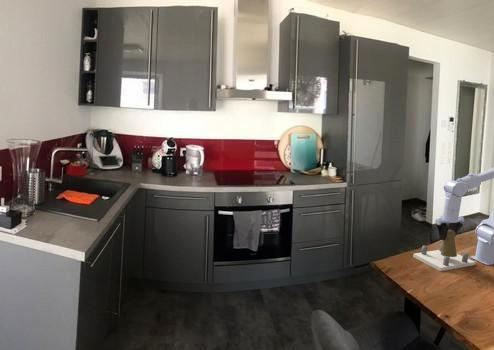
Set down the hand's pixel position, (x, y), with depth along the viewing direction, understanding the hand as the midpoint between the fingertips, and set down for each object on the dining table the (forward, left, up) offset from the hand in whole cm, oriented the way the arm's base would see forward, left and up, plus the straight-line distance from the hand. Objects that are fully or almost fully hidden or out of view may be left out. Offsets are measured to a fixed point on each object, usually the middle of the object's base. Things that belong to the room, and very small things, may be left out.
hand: (446, 238), depth 143 cm
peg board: (0, 0, -10) cm, 10 cm away
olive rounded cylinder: (0, +2, -7) cm, 7 cm away
